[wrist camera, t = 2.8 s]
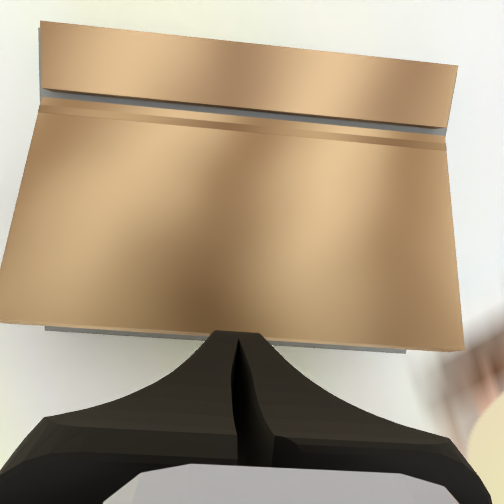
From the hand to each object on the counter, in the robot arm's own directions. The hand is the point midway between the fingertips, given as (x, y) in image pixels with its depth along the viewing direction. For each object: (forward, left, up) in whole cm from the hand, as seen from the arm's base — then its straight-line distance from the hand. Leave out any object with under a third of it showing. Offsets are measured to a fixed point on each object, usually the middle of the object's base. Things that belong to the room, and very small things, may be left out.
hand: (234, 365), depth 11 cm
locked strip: (0, -8, -7) cm, 11 cm away
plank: (0, -3, -5) cm, 6 cm away
